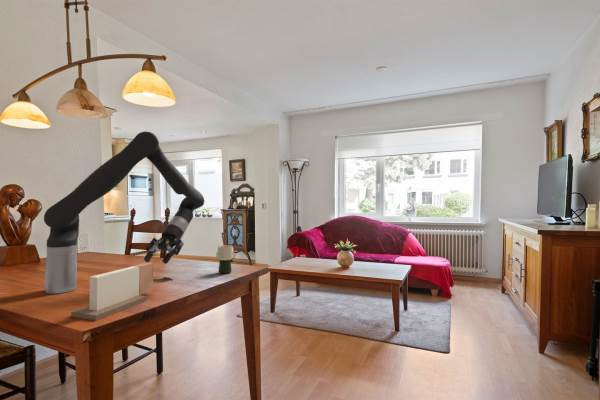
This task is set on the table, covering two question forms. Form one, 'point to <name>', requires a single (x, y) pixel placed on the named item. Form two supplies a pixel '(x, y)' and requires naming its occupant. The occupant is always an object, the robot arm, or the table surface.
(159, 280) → the parchment
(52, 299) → the table surface
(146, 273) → the stub
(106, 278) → the stand
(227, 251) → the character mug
